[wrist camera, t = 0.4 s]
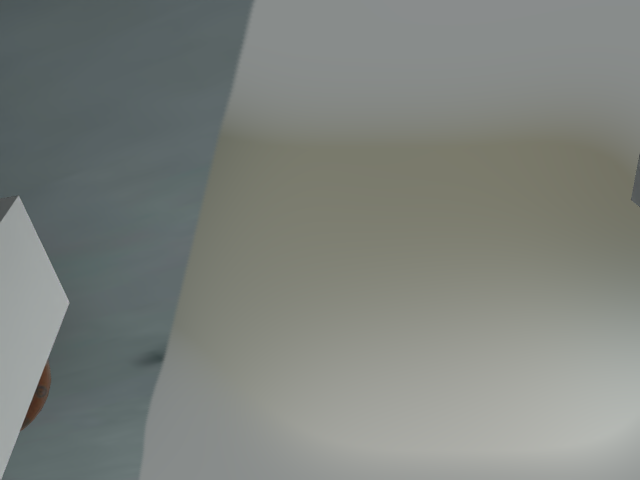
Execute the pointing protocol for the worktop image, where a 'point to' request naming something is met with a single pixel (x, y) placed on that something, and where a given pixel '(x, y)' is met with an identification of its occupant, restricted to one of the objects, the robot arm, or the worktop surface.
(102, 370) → the worktop surface
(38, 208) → the worktop surface
